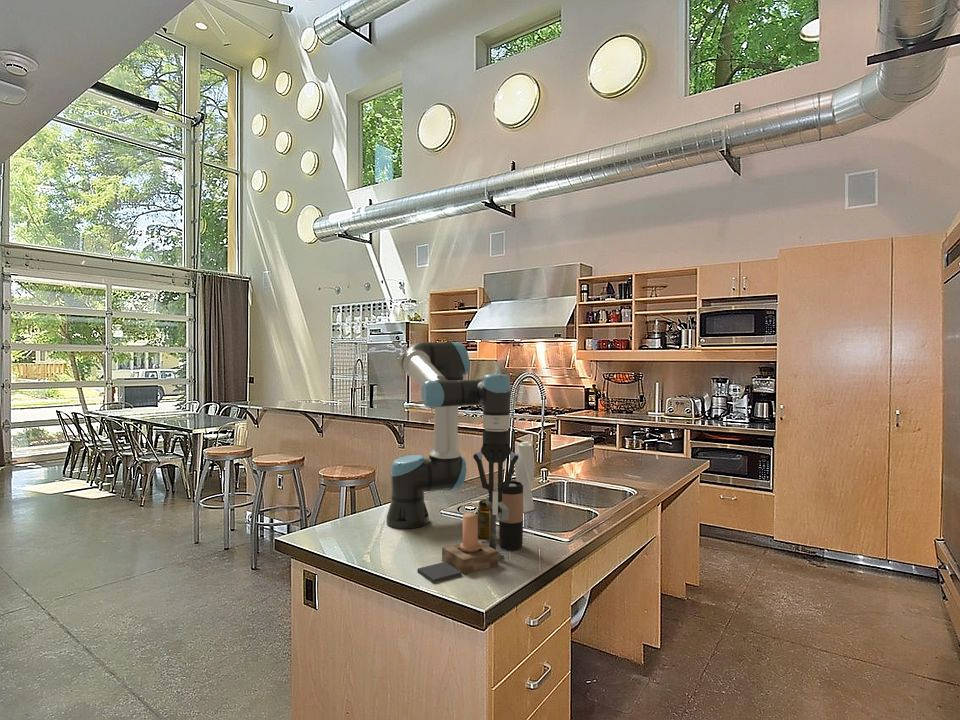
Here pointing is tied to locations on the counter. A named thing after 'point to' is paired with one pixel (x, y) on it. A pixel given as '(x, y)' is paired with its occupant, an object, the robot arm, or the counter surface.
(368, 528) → the counter surface
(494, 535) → the socket block
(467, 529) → the peg
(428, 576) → the mat
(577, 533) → the counter surface
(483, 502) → the condiment
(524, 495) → the skyscraper
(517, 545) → the travel mug
